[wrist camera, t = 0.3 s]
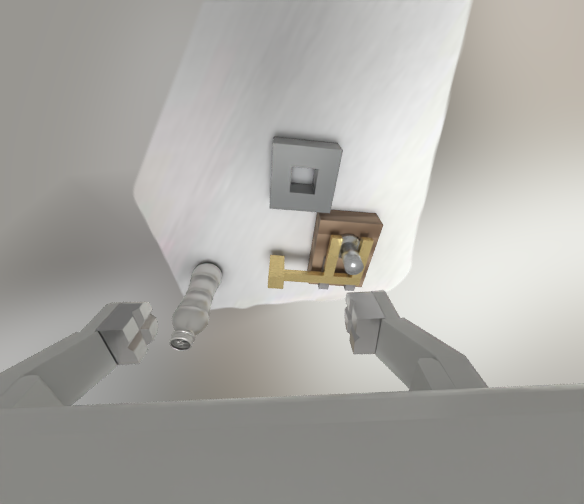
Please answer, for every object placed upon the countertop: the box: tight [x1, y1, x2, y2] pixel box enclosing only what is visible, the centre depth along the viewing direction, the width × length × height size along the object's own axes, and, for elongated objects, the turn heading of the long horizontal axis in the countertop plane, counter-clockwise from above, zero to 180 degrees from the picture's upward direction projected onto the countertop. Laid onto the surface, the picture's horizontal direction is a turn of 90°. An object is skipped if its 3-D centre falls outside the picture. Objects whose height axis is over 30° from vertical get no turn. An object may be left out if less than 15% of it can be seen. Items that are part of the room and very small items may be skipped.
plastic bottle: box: [169, 263, 222, 351], centre depth 51 cm, size 6×7×20 cm
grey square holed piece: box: [270, 137, 343, 213], centre depth 44 cm, size 11×11×5 cm
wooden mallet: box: [268, 235, 374, 289], centre depth 50 cm, size 12×19×7 cm, turn 84°
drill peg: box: [338, 234, 364, 275], centre depth 49 cm, size 5×5×12 cm
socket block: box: [307, 210, 383, 291], centre depth 53 cm, size 16×12×6 cm
